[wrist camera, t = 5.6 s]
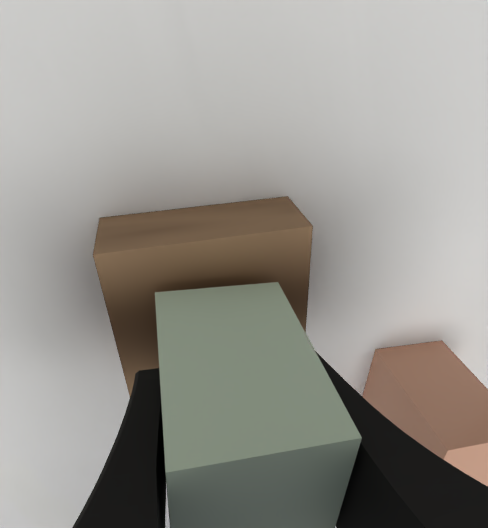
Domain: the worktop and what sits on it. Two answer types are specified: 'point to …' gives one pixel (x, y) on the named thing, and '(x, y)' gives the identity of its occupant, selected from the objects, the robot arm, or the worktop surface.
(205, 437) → the sage block
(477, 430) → the terracotta block
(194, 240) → the walnut board
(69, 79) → the worktop surface
